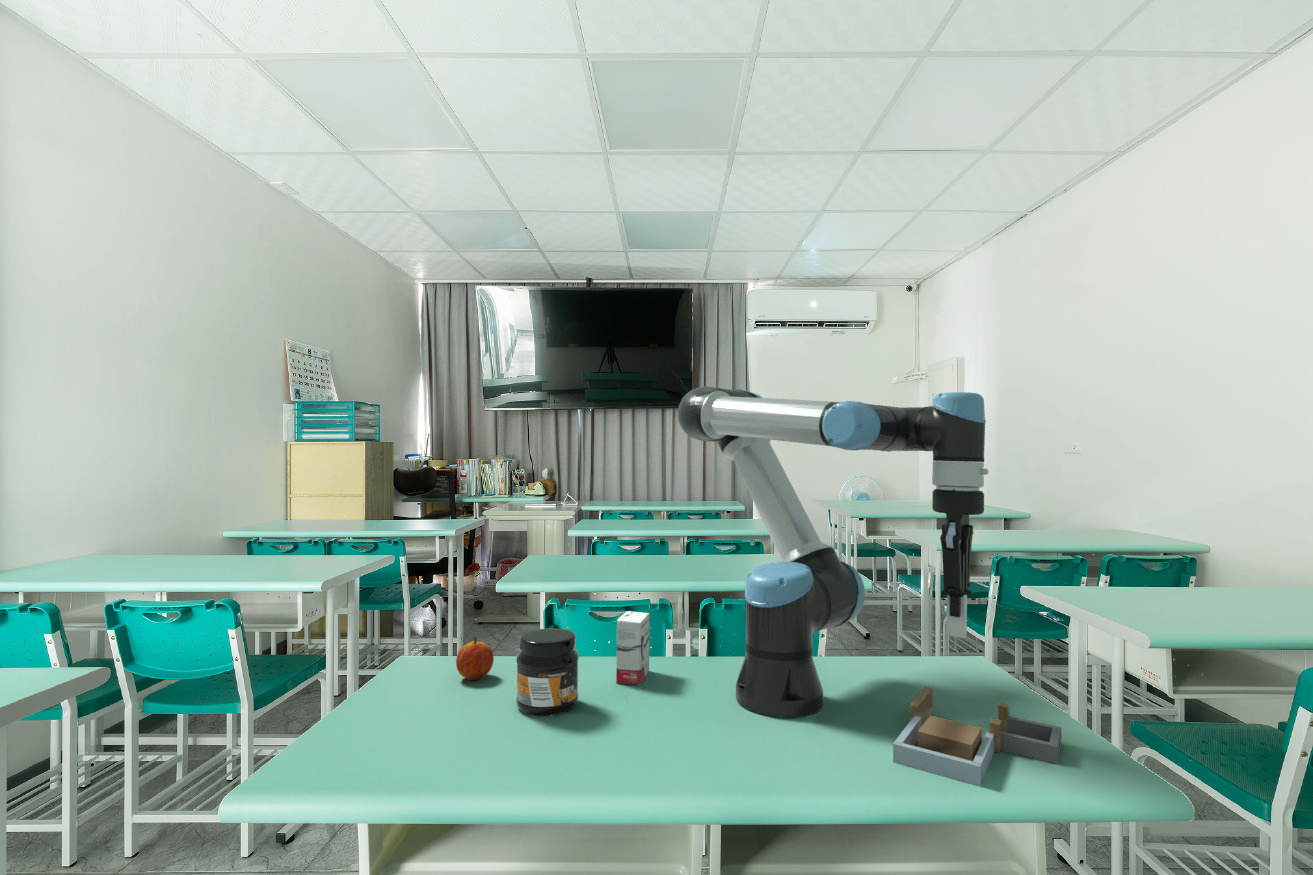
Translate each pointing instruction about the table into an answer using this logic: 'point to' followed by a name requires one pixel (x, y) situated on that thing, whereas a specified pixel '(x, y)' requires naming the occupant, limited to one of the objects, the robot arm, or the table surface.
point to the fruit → (474, 660)
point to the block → (950, 738)
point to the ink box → (632, 647)
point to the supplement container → (547, 672)
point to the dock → (942, 756)
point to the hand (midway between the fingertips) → (956, 635)
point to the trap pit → (1032, 739)
